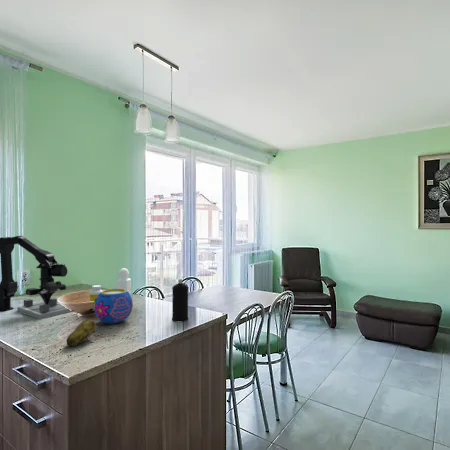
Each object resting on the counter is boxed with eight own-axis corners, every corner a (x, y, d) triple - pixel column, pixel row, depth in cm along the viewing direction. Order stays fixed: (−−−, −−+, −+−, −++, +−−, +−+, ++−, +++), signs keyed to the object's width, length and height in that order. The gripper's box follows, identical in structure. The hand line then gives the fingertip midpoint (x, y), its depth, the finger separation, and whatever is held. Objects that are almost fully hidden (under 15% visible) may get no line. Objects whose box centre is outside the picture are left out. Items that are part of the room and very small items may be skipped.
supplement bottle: (98, 311, 169) (98, 287, 169) (87, 310, 170) (87, 286, 170) (105, 307, 175) (105, 285, 175) (94, 307, 177) (94, 284, 177)
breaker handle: (48, 305, 172) (47, 298, 172) (53, 303, 174) (53, 297, 174) (51, 306, 169) (51, 299, 169) (56, 304, 172) (56, 298, 172)
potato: (59, 344, 123) (59, 324, 123) (90, 335, 133) (90, 316, 133) (70, 350, 118) (69, 329, 118) (101, 339, 128) (101, 320, 128)
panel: (17, 310, 169) (17, 300, 169) (51, 303, 183) (51, 294, 183) (39, 319, 154) (39, 308, 154) (74, 310, 169) (74, 300, 169)
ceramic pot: (122, 314, 163) (122, 285, 163) (139, 322, 150) (139, 291, 150) (88, 321, 151) (88, 290, 151) (103, 331, 138) (103, 297, 138)
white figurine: (131, 305, 181) (131, 267, 181) (126, 308, 174) (126, 269, 174) (120, 304, 182) (120, 267, 181) (115, 307, 175) (115, 268, 175)
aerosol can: (191, 317, 157) (191, 278, 157) (182, 322, 150) (182, 281, 150) (177, 315, 161) (177, 277, 161) (168, 320, 153) (168, 279, 153)
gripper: (34, 280, 157) (34, 311, 157) (71, 275, 172) (71, 303, 172) (25, 278, 163) (25, 307, 163) (61, 273, 178) (61, 300, 179)
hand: (46, 305), depth 169 cm, fingers closed
